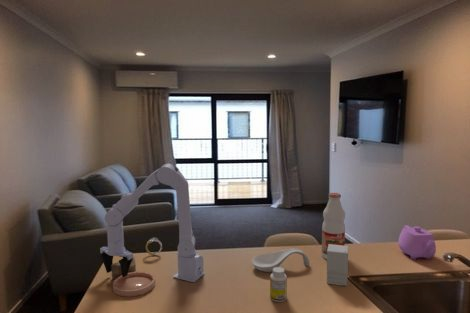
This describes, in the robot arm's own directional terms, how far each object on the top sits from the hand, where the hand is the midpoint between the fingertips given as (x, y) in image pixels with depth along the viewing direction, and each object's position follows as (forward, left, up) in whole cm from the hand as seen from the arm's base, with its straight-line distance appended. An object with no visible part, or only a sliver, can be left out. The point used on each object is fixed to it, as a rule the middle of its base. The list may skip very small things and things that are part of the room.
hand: (117, 273), depth 129 cm
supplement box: (-76, -33, -2) cm, 83 cm away
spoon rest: (-54, -35, -2) cm, 64 cm away
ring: (+1, -23, -2) cm, 23 cm away
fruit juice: (-71, -54, -2) cm, 89 cm away
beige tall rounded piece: (0, -7, -2) cm, 7 cm away
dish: (-10, +2, -2) cm, 11 cm away
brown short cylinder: (0, 0, -2) cm, 2 cm away
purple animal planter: (-104, -71, -2) cm, 126 cm away
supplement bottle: (-60, -12, -2) cm, 61 cm away
